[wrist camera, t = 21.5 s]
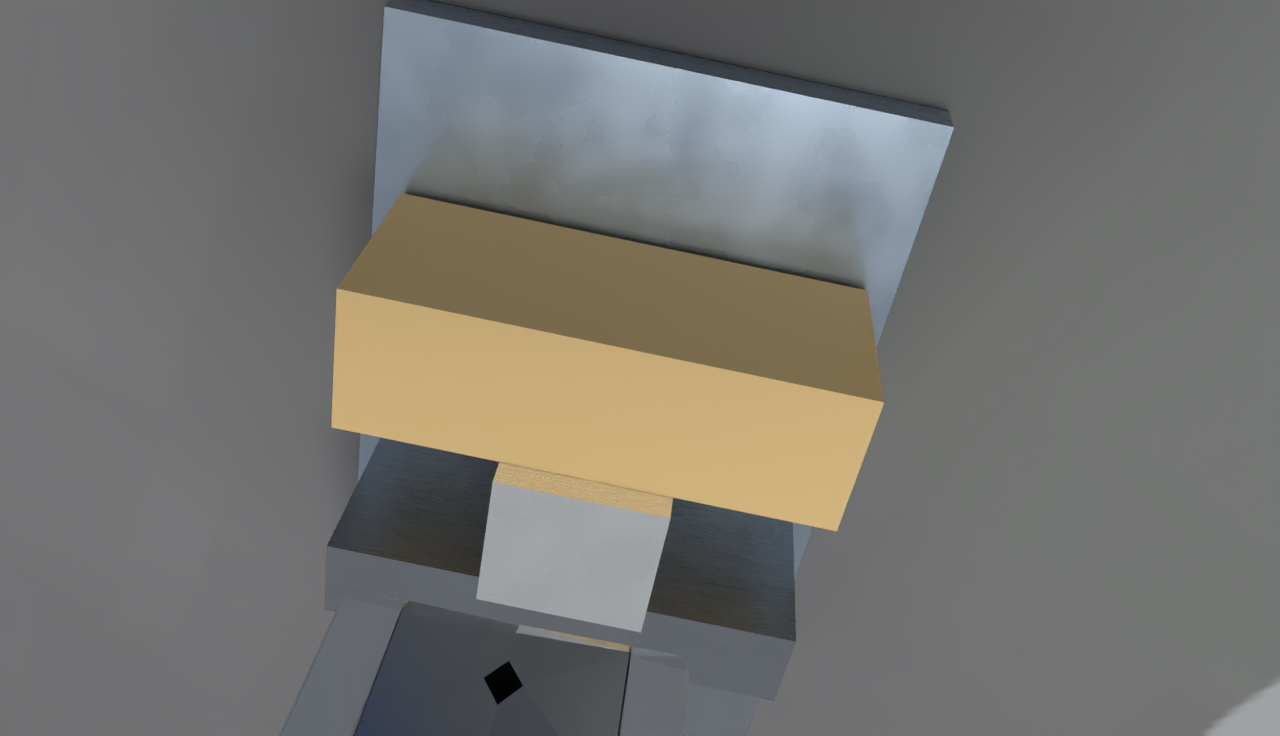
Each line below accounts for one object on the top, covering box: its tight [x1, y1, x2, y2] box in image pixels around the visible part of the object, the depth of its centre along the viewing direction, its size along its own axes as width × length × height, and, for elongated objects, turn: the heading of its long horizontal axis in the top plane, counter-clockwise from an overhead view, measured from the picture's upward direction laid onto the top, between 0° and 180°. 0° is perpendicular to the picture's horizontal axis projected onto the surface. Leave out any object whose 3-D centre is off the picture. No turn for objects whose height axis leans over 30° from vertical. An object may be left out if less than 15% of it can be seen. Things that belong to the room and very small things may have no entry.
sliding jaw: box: [332, 193, 884, 531], centre depth 37 cm, size 5×16×7 cm, turn 80°
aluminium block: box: [476, 462, 673, 632], centre depth 39 cm, size 5×6×8 cm
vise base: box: [324, 0, 954, 736], centre depth 40 cm, size 25×18×8 cm
